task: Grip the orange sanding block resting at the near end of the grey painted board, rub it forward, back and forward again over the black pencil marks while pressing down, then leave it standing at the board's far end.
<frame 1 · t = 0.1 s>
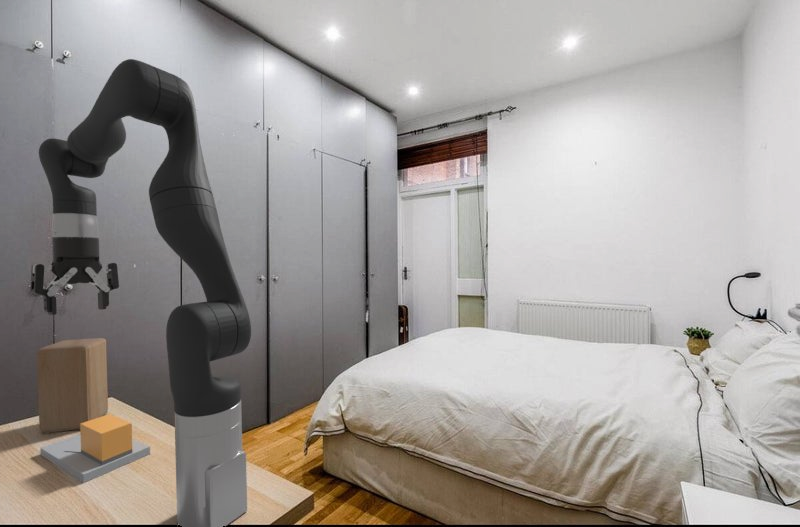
hand: (78, 311, 79), 29 cm above the table, tool pointing down, fingers open, 8 cm apart
block: (76, 424, 90), on the table
sanding block: (106, 453, 73), point 2 cm above the table, touching board
board: (95, 454, 75), on the table
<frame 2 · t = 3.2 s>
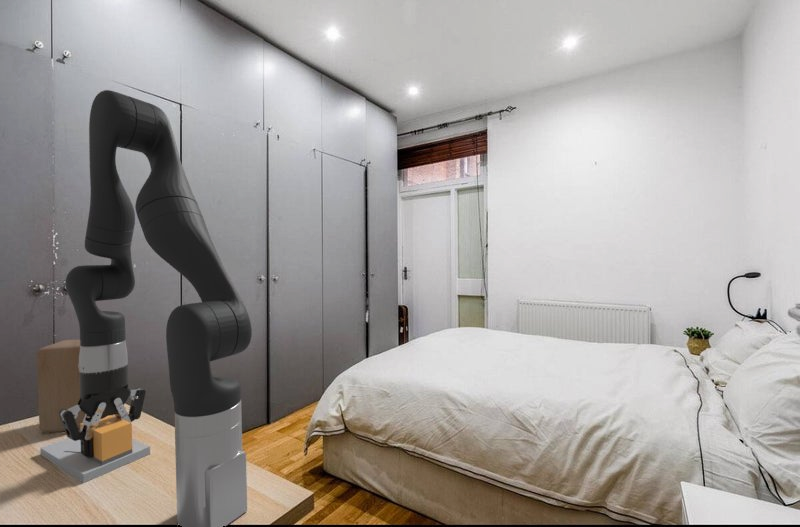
hand: (106, 449, 73), 2 cm above the table, tool pointing down, fingers closed on sanding block, 5 cm apart
sanding block: (106, 453, 73), point 2 cm above the table, touching board, gripper
everything else where it was.
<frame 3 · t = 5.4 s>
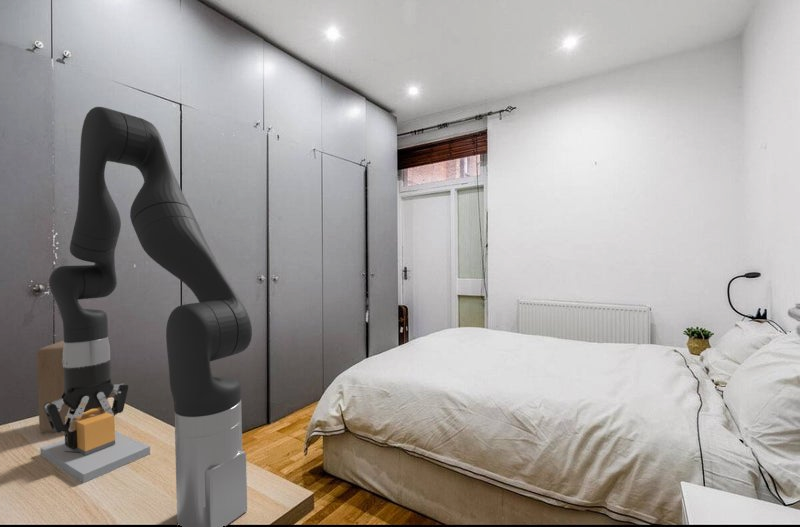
hand: (90, 441, 76), 2 cm above the table, tool pointing down, fingers closed on sanding block, 5 cm apart
sanding block: (90, 444, 76), point 2 cm above the table, touching board, gripper
everything else where it was.
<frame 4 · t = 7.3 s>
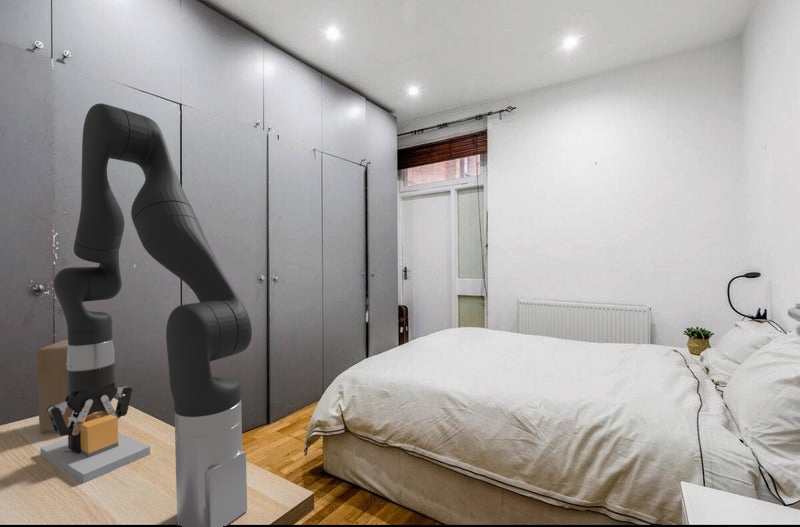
hand: (93, 444, 76), 2 cm above the table, tool pointing down, fingers closed on sanding block, 5 cm apart
sanding block: (93, 446, 76), point 2 cm above the table, touching gripper
everything else where it was.
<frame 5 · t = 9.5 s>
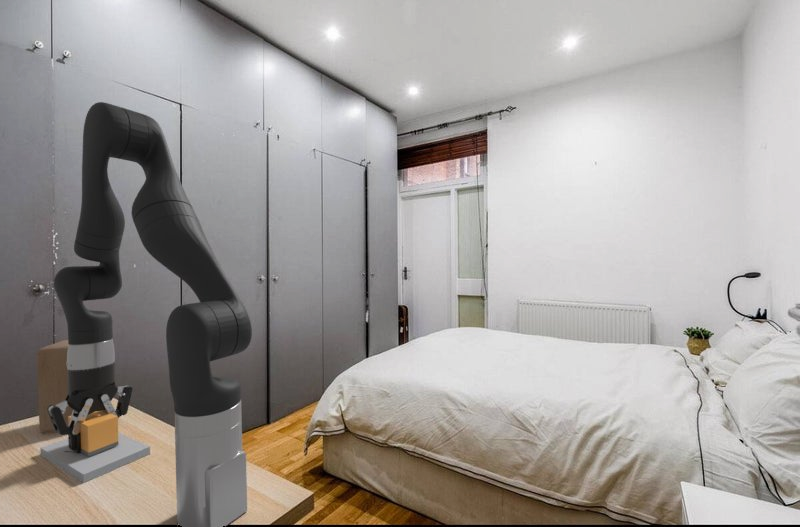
hand: (94, 444, 76), 2 cm above the table, tool pointing down, fingers closed on sanding block, 5 cm apart
sanding block: (93, 445, 76), point 2 cm above the table, touching gripper
everything else where it was.
when the fingers open (2 cm above the table, at t = 11.4 s): sanding block stays where it is, resting on board.
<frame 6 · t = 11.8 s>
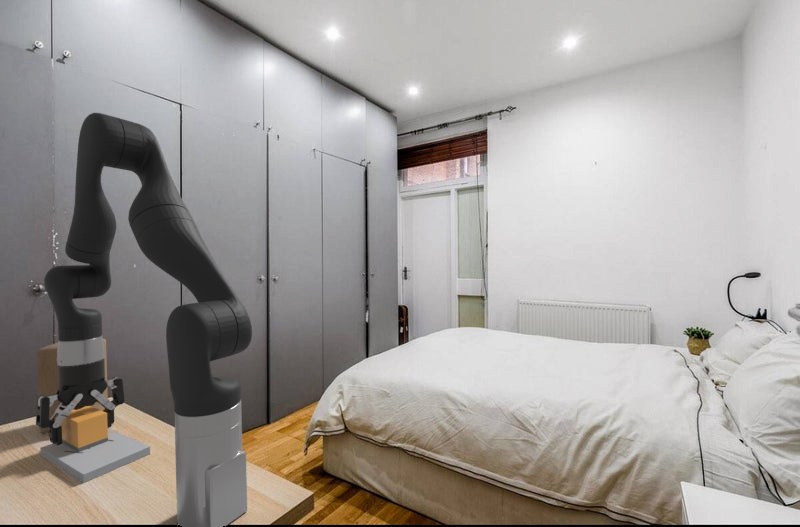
hand: (84, 434, 78), 3 cm above the table, tool pointing down, fingers open, 8 cm apart
sanding block: (83, 441, 78), point 2 cm above the table, touching board
everything else where it was.
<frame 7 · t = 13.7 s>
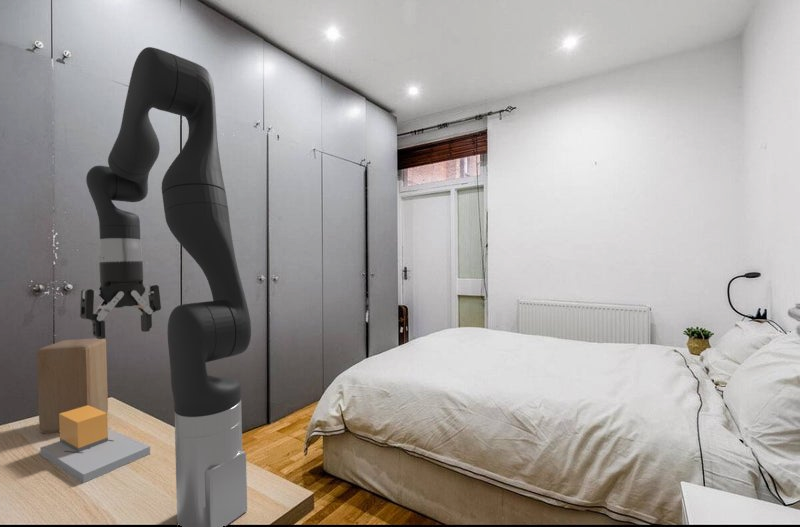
hand: (124, 334, 80), 24 cm above the table, tool pointing down, fingers open, 8 cm apart
nothing on the table moved.
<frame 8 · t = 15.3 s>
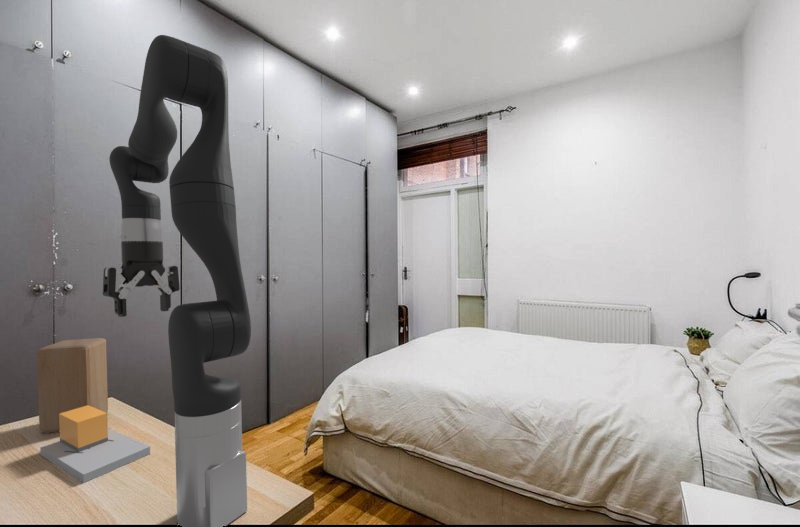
hand: (144, 313, 81), 28 cm above the table, tool pointing down, fingers open, 8 cm apart
nothing on the table moved.
at the end: sanding block 0.1 cm from the target spot, point 1.5 cm above the table; sanding block tilted 0°; sanding block touching board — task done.
